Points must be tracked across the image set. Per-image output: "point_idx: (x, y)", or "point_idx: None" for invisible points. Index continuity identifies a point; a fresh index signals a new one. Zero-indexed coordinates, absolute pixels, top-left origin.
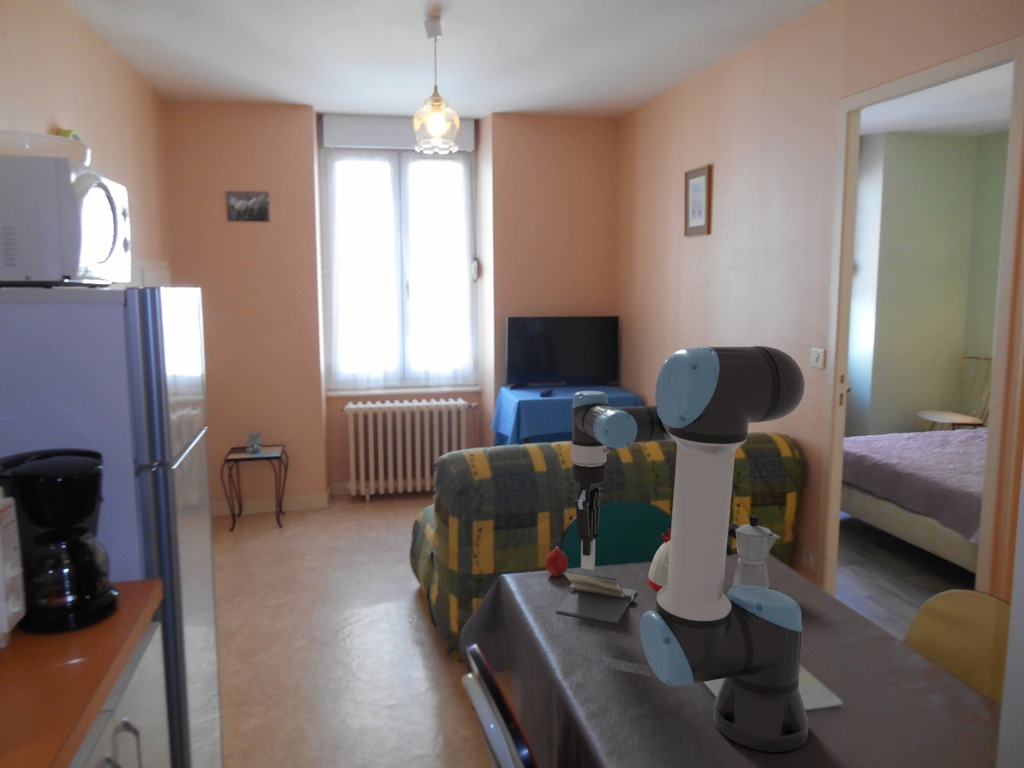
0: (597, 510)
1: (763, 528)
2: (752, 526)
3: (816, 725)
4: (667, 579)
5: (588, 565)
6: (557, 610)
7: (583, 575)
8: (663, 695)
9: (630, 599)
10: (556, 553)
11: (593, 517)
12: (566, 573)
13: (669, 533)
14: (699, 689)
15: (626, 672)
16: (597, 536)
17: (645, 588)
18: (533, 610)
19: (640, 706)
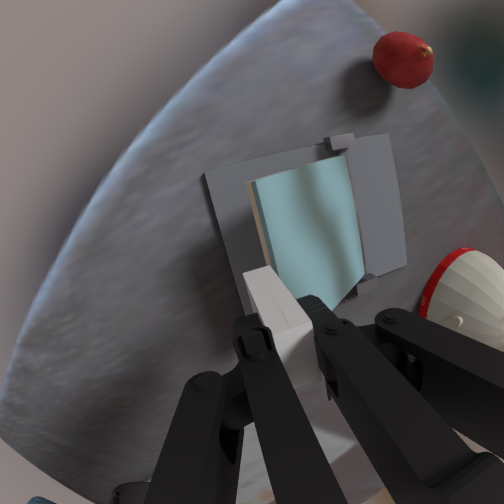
0: (474, 435)
1: None
2: None
3: None
4: (438, 320)
5: (253, 308)
6: (205, 175)
7: (268, 251)
8: (100, 450)
9: (354, 290)
10: (413, 54)
11: (377, 467)
12: (250, 187)
13: None
14: (145, 470)
15: (101, 407)
16: (328, 399)
17: (427, 265)
18: (180, 118)
19: (61, 438)
